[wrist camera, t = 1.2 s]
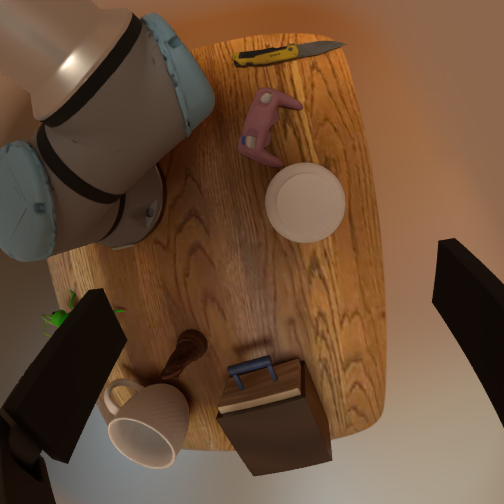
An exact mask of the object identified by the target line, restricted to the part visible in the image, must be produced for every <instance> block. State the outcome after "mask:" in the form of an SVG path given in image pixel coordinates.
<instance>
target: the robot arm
mask: <svg viewBox="0 0 504 504" xmlns="http://www.w3.org/2000/svg"><path fill="white" fill-rule="evenodd" d="M0 74H1V75H3V76H4V77H6V78H7V79H9V80H11V81H12V82H14V83H15V84H17V85H19V86H20V87H22V88H23V89H25V90H27V91H28V92H29V93H30V95H31V101H32V110H33V116H34V118H35V119H37V120H39V121H40V122H42V125H41V126H40V127H39V129H38V130H37V131H36V133H35V134H34V135H33V137H32V138H31V139H30V140H29V141H28V142H27V141H23V140H17V141H15V142H13V143H8V144H6V145H5V146H3V147H2V148H1V149H0V247H1V248H2V250H3V251H4V252H5V253H6V254H7V255H8V256H10V257H11V258H13V259H16V260H18V261H21V262H28V261H35V260H45V259H48V258H49V257H50V256H53V255H56V254H59V253H63V252H66V251H69V250H72V249H75V248H78V247H82V246H85V245H88V244H91V243H98V244H102V245H105V246H109V247H117V248H112V249H113V250H119V249H123V248H127V247H132V246H135V245H133V244H136V243H139V242H140V241H142V240H144V239H145V238H147V237H148V236H149V235H150V234H151V233H152V232H153V231H154V229H155V228H156V227H157V225H158V224H159V222H160V220H161V218H162V215H163V212H164V209H165V204H166V185H165V180H164V176H163V173H162V171H161V169H160V167H159V165H158V164H157V162H158V161H159V160H160V159H162V158H163V157H164V156H165V155H166V154H167V153H168V152H169V151H170V150H172V149H173V148H174V147H175V146H176V145H177V144H178V143H179V142H181V141H182V140H183V139H184V138H188V137H189V136H190V134H191V132H192V130H194V129H195V128H196V127H197V126H198V125H199V124H200V123H201V122H202V121H203V120H205V119H206V118H207V117H208V116H209V115H210V114H211V112H212V111H213V109H214V105H215V95H214V92H213V89H212V87H211V85H210V83H209V81H208V79H207V78H206V76H205V74H204V72H203V71H202V69H201V68H200V66H199V64H198V63H197V61H196V60H195V58H194V57H193V55H192V54H191V52H190V51H189V50H188V49H187V47H186V46H185V45H184V44H183V43H182V42H181V41H180V38H179V37H178V36H177V35H176V33H175V31H174V30H173V29H172V28H171V26H170V25H169V24H168V23H167V22H166V21H165V20H164V19H163V18H162V17H161V16H160V15H158V14H157V13H150V14H148V15H144V16H142V18H141V19H140V20H139V19H138V18H137V17H136V16H135V15H134V14H133V13H132V12H131V11H130V10H129V9H128V8H115V9H100V8H99V7H98V6H97V5H95V4H94V3H93V2H92V1H91V0H0ZM432 303H433V305H434V306H435V307H436V309H437V310H438V312H439V313H440V315H441V316H442V318H443V320H444V321H445V323H446V324H447V326H448V327H449V329H450V331H451V332H452V334H453V335H454V337H455V339H456V340H457V342H458V343H459V345H460V346H461V348H462V350H463V352H464V353H465V355H466V357H467V359H468V360H469V362H470V364H471V366H472V367H473V369H474V371H475V373H476V374H477V376H478V378H479V380H480V382H481V383H482V385H483V387H484V389H485V391H486V393H487V395H488V397H489V399H490V401H491V402H492V405H493V406H494V409H495V410H496V413H497V414H498V417H499V419H500V421H501V423H502V425H503V427H504V284H503V283H502V282H501V281H500V280H499V279H498V278H497V277H496V276H495V275H494V274H493V273H492V272H491V271H490V270H489V269H488V268H487V267H486V266H485V265H484V264H483V263H482V262H481V261H480V260H478V259H477V258H476V257H475V256H474V255H473V254H472V253H471V252H470V251H469V250H468V249H467V248H465V247H464V246H463V245H462V244H461V243H460V242H459V241H458V240H456V239H455V238H452V239H446V240H440V241H438V254H437V265H436V275H435V282H434V290H433V298H432ZM126 342H127V338H126V336H125V334H124V332H123V330H122V328H121V326H120V324H119V322H118V320H117V318H116V316H115V314H114V312H113V310H112V307H111V305H110V303H109V301H108V299H107V296H106V294H105V292H104V290H103V288H101V289H92V290H88V292H87V293H86V294H85V295H84V296H83V298H82V299H81V300H80V301H79V302H78V304H77V305H76V306H75V307H74V309H73V310H72V311H71V312H70V314H69V315H68V316H67V317H66V319H65V320H64V321H63V322H62V324H61V325H60V326H59V328H58V329H57V330H56V332H55V333H54V334H53V335H52V337H51V338H50V339H49V341H48V342H47V343H46V345H45V346H44V348H43V349H42V350H41V352H40V353H39V354H38V356H37V357H36V359H35V360H34V361H33V362H32V363H31V364H30V366H29V367H28V369H27V370H26V371H25V373H24V375H23V376H22V377H21V379H20V380H19V383H18V384H16V386H15V387H14V389H13V390H12V392H11V393H10V395H9V396H8V398H7V399H6V401H5V403H4V404H3V406H2V407H1V409H0V504H56V502H55V499H54V495H53V492H52V488H51V484H50V480H49V476H48V472H47V468H46V463H45V461H44V458H43V457H41V455H40V453H41V451H42V450H43V451H44V452H45V453H47V454H48V455H49V456H50V457H51V458H52V459H54V460H58V461H60V462H63V463H67V464H68V462H69V460H70V458H71V456H72V453H73V451H74V449H75V447H76V444H77V442H78V440H79V438H80V435H81V433H82V431H83V429H84V427H85V424H86V422H87V420H88V418H89V416H90V414H91V412H92V409H93V407H94V405H95V403H96V401H97V399H98V397H99V395H100V393H101V391H102V389H103V387H104V385H105V383H106V381H107V379H108V377H109V375H110V373H111V371H112V369H113V367H114V365H115V363H116V361H117V359H118V357H119V355H120V353H121V351H122V349H123V348H124V346H125V344H126Z"/></svg>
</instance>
